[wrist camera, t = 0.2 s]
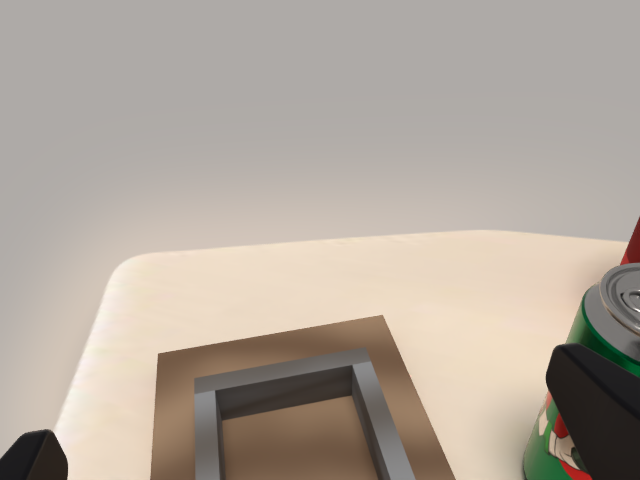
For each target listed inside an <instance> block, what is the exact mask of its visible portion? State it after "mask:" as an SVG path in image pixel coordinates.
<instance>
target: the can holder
mask: <svg viewBox="0 0 640 480" xmlns="http://www.w3.org/2000/svg"><path fill="white" fill-rule="evenodd" d="M150 480H456V479H455V477H454V475H453V473H452V470H451V468H450V466H449V464H448V461H447V459H446V457H445V454H444V452H443V450H442V448H441V445H440V443H439V441H438V439H437V436H436V434H435V432H434V430H433V427H432V425H431V423H430V421H429V418H428V416H427V414H426V412H425V409H424V407H423V405H422V403H421V400H420V398H419V396H418V394H417V391H416V389H415V387H414V385H413V382H412V380H411V378H410V375H409V373H408V371H407V369H406V366H405V364H404V362H403V360H402V357H401V355H400V353H399V351H398V348H397V346H396V344H395V342H394V339H393V337H392V335H391V333H390V330H389V328H388V326H387V324H386V321H385V319H384V317H383V315H380V316H374V317H368V318H362V319H356V320H351V321H345V322H339V323H333V324H327V325H322V326H316V327H310V328H304V329H298V330H293V331H287V332H281V333H275V334H269V335H263V336H258V337H252V338H246V339H240V340H234V341H229V342H223V343H217V344H211V345H205V346H200V347H194V348H188V349H182V350H176V351H171V352H165V353H159V354H158V363H157V380H156V396H155V412H154V429H153V445H152V461H151V478H150Z"/></svg>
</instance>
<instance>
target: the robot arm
mask: <svg viewBox="0 0 640 480" xmlns="http://www.w3.org/2000/svg"><path fill="white" fill-rule="evenodd" d="M546 384H547V387H548V390H549V392H550V394H551V396H552V398H553V400H554V403H555V405H556V407H557V409H558V411H559V413H560V416H561V418H562V420H563V422H564V424H565V426H566V429H567V431H568V433H569V435H570V437H571V439H572V442H573V444H574V446H575V448H576V450H577V452H578V454H579V456H580V458H581V460H582V462H583V464H584V466H585V468H586V470H587V471H588V473H589V475H590V477H591V478H592V480H640V377H638V376H636V375H634V374H633V373H631V372H629V371H627V370H626V369H624V368H622V367H620V366H619V365H617V364H615V363H613V362H612V361H610V360H608V359H606V358H605V357H603V356H601V355H599V354H598V353H596V352H594V351H592V350H591V349H589V348H587V347H585V346H584V345H581V344H579V343H568V344H562V345H558V346H556V347H555V348H554V350H553V352H552V356H551V359H550V362H549V366H548V369H547V372H546ZM67 477H68V462H67V458H66V456H65V454H64V452H63V450H62V448H61V446H60V444H59V442H58V440H57V438H56V436H55V434H54V433H53V431H51V430H49V429H45V430H38V431H32V432H28V433H25V434H23V435H22V436H20V437H19V438H18V439H17V441H16V442H15V443H14V444H13V445H12V446H11V447H10V448H9V450H8V451H7V452H6V453H5V454H4V455H3V456H2V458H1V459H0V480H67Z"/></svg>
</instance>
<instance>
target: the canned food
mask: <svg viewBox="0 0 640 480" xmlns="http://www.w3.org/2000/svg"><path fill="white" fill-rule="evenodd" d="M629 263H640V217H639V220H638V222H637V225H636V227H635V230H634V232H633V235H632V237H631V239H630V242H629V244H628V247H627V249H626V252H625V254H624V257H623V259H622V261H621V264H620V265H624V264H629Z"/></svg>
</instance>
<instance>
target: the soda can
mask: <svg viewBox="0 0 640 480" xmlns="http://www.w3.org/2000/svg"><path fill="white" fill-rule="evenodd" d="M568 343H579V344H581V345H584V346H585V347H587V348H589V349H591V350H592V351H594V352H596V353H598V354H599V355H601V356H603V357H605V358H606V359H608V360H610V361H612V362H613V363H615V364H617V365H619V366H620V367H622V368H624V369H626V370H627V371H629V372H631V373H633V374H634V375H636V376H638V377H640V263H629V264H624V265H620V266H617V267H615V268H613V269H611V270H609V271H608V272H607V273H606V274H605V275H604V276H603V278H602V280H601V281H600V282H598V283H597V284H595V285H593V286H592V287H590V288H589V289H588V290H587V291H586V293H585V294H584V296H583V298H582V301H581V303H580V306H579V309H578V311H577V314H576V317H575V319H574V322H573V325H572V327H571V330H570V333H569V335H568V338H567V341H566V343H565V344H568ZM523 463H524V471H525V475H526V478H527V480H592V478H591V477H590V475H589V473H588V471H587V470H586V468H585V466H584V464H583V462H582V460H581V458H580V456H579V454H578V452H577V450H576V448H575V446H574V444H573V442H572V439H571V437H570V435H569V433H568V431H567V429H566V426H565V424H564V422H563V420H562V418H561V416H560V413H559V411H558V409H557V407H556V405H555V403H554V400H553V398H552V396H551V394H550V392H549V390H548V391H547V394H546V397H545V399H544V402H543V405H542V407H541V410H540V413H539V415H538V418H537V421H536V423H535V426H534V429H533V431H532V434H531V437H530V439H529V442H528V445H527V447H526V450H525V453H524V461H523Z"/></svg>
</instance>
